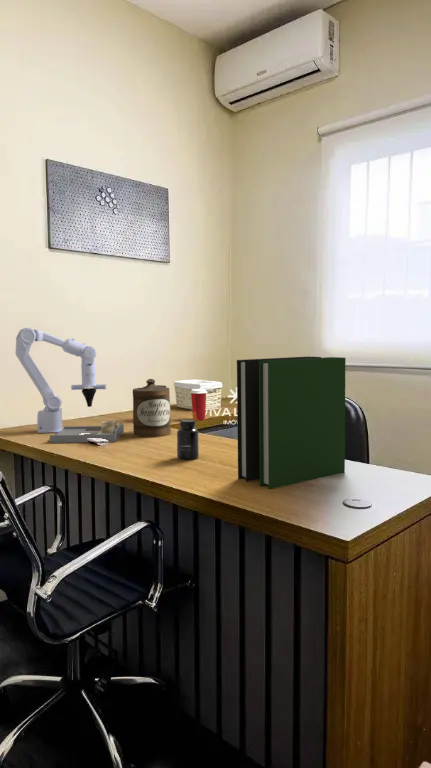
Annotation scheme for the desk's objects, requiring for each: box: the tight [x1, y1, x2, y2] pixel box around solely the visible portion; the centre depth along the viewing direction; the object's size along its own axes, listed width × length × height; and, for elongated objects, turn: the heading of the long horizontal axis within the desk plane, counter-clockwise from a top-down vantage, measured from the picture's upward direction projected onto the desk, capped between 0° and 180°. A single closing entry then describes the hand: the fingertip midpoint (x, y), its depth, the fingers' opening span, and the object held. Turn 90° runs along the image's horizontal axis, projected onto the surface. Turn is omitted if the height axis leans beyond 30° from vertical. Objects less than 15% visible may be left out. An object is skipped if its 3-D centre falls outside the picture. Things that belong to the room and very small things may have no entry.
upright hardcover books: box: [236, 356, 346, 490], centre depth 145 cm, size 27×15×32 cm, turn 126°
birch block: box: [100, 420, 118, 433], centre depth 206 cm, size 5×5×4 cm
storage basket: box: [173, 378, 223, 412], centre depth 285 cm, size 24×16×15 cm
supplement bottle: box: [176, 419, 200, 461], centre depth 168 cm, size 7×7×12 cm
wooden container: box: [132, 378, 172, 438], centre depth 211 cm, size 15×15×22 cm
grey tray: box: [49, 422, 125, 444], centre depth 206 cm, size 24×20×4 cm
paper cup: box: [190, 389, 207, 422], centre depth 246 cm, size 8×8×14 cm
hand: (89, 406), depth 226 cm, fingers closed
